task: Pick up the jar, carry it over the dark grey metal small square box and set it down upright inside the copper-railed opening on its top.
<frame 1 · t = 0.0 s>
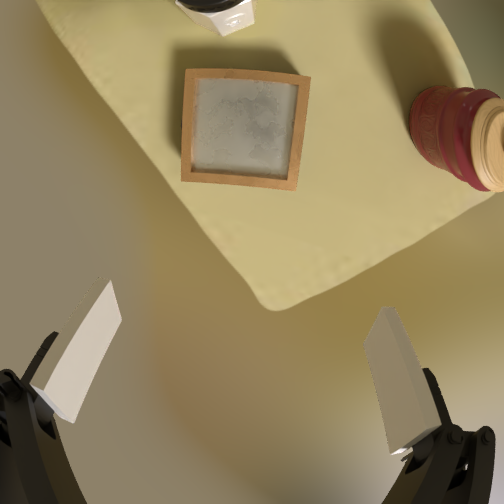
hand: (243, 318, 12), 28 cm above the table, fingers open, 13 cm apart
small square box: (245, 124, 33), on the table
canister: (439, 126, 30), on the table
jar: (226, 10, 25), on the table
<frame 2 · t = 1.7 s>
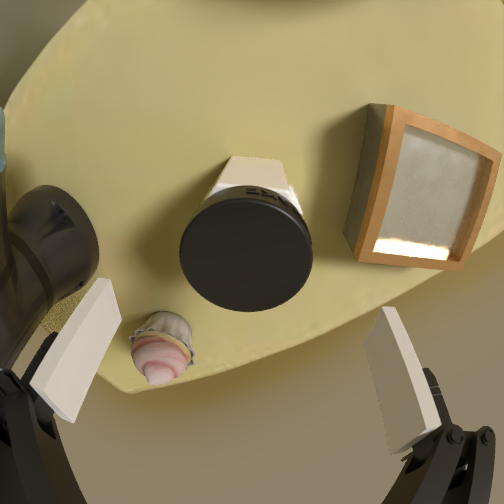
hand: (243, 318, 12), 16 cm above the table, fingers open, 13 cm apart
small square box: (414, 183, 25), on the table
jar: (252, 195, 27), on the table
cupcake: (170, 325, 37), on the table
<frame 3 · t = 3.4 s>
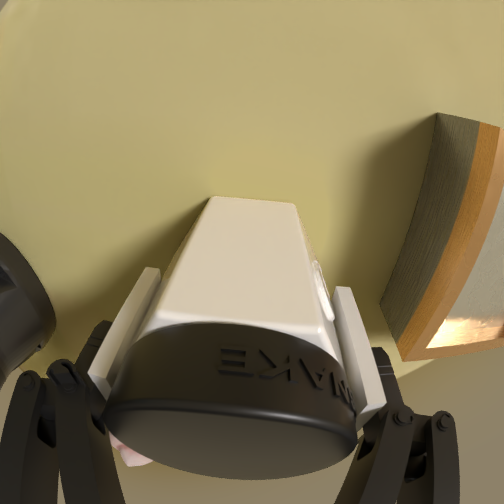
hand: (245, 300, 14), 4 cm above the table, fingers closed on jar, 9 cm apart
small square box: (478, 233, 15), on the table
jar: (247, 256, 17), on the table, touching gripper
cupcake: (150, 391, 27), on the table
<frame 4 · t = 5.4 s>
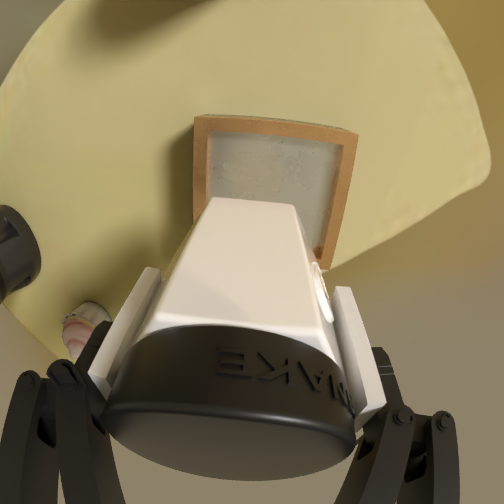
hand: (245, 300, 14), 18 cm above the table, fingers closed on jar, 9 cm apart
small square box: (268, 182, 29), on the table
jar: (247, 257, 17), point 14 cm above the table, touching gripper
cupcake: (96, 314, 41), on the table
when the fingers open (9 cm above the table, at t = 7.5 s): jar drops 1 cm, resting on small square box.
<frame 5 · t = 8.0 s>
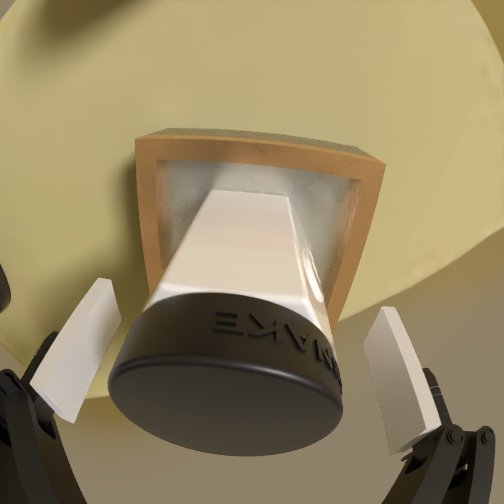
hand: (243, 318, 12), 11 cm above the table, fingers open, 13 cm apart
small square box: (253, 221, 22), on the table
jar: (245, 246, 18), point 4 cm above the table, touching small square box
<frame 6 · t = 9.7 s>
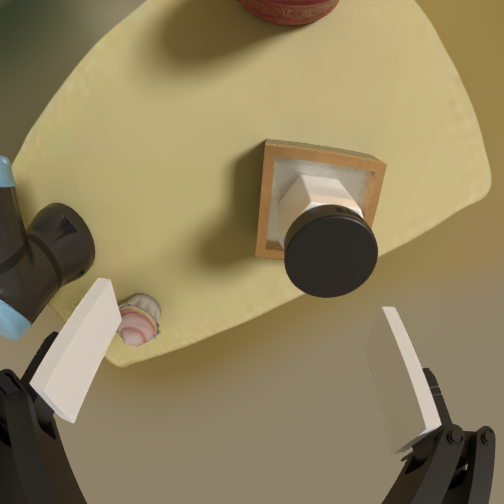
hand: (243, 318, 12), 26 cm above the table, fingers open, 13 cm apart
small square box: (313, 196, 36), on the table
jar: (314, 206, 32), point 4 cm above the table, touching small square box
cupcake: (146, 305, 49), on the table
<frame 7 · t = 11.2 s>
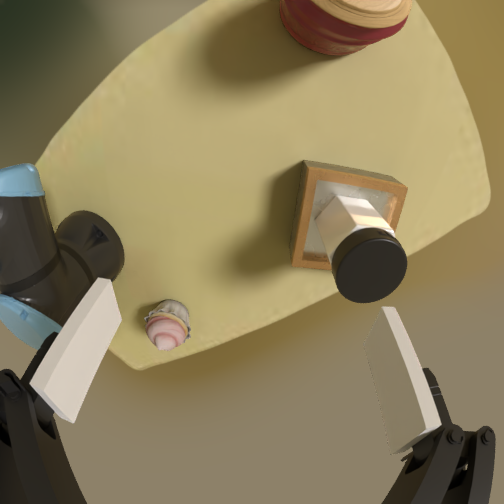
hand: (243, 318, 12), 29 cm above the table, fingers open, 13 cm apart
small square box: (341, 211, 40), on the table
canister: (326, 17, 25), on the table
jar: (345, 222, 36), point 4 cm above the table, touching small square box
cupcake: (173, 310, 52), on the table
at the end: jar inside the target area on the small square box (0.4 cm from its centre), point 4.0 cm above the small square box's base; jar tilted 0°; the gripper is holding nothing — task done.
